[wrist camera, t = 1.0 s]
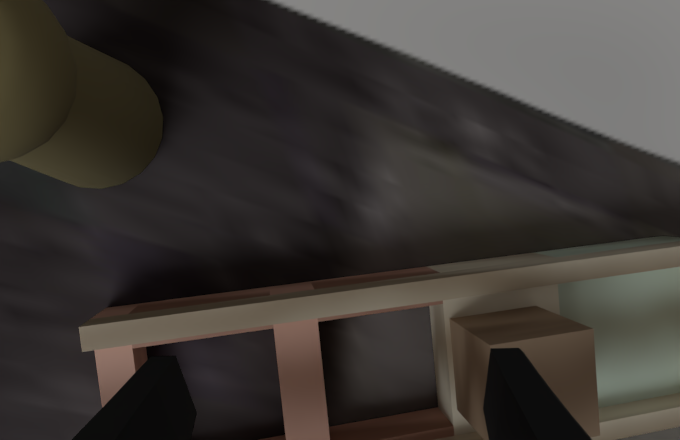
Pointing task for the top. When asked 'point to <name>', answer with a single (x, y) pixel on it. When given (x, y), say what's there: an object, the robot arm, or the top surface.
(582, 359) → the walnut block
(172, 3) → the top surface
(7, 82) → the olive green pawn
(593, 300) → the trap lane
